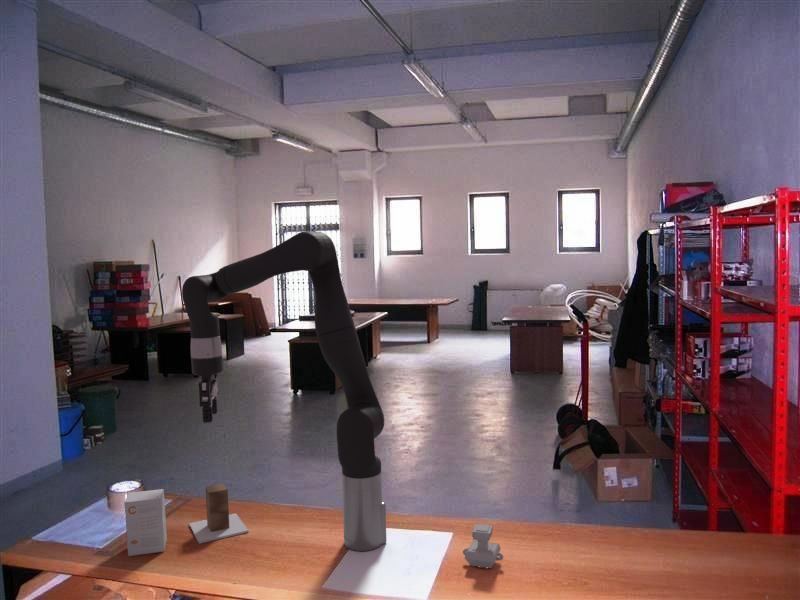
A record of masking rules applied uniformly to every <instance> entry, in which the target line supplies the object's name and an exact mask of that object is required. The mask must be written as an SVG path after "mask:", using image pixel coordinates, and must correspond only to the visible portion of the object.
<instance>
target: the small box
mask: <svg viewBox="0 0 800 600" xmlns="http://www.w3.org/2000/svg"><path fill="white" fill-rule="evenodd" d="M165 504H166V503H165V490H164V488H159V489H151V490H143V491H133V492H128V494H127V496H126V498H125V501H124V516H125V528H126V529H125V530H126V533H125V534H126V543H127V544H126V545H127V556H128V557H131V556H132V557H133V556H140V555H141V556H142V555H148V554H154V553H163V552H165V549H166V546H167V545H166V544H167V540H168V539H167V522H166V521H167V520H166V519H167V518H166V505H165Z"/></svg>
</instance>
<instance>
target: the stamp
mask: <svg viewBox="0 0 800 600" xmlns="http://www.w3.org/2000/svg"><path fill="white" fill-rule="evenodd" d="M493 526H494V525H492V524H482V523H479V524H478V523H475V524H474V526H473V529H472V532H471V533H472V534H471V537H472V539H473V540H472V541H471V543H470V545H469V547H468V548H467V547H466V548H464V549H463V550H462V554H463V556H464V560H465V561H466V562H467V563H468V564H469V565H470V566H471V565H472V566H471V567H475V566H480V567H479V568H482V567H488V568H491V569H492V567H493V566H494V565H495V563H496V562H497V561H502V560H504V555H503V554H502V553H501V552H500V551H501V546H500V543H496V542H489V541H490V539H491V537H492V535H493V531H494V527H493ZM488 568H487V569H488Z"/></svg>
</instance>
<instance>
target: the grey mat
mask: <svg viewBox="0 0 800 600" xmlns="http://www.w3.org/2000/svg"><path fill="white" fill-rule="evenodd" d="M188 526H189V528H190V527H191V528H190V529H192V530H191V531H193V532H192V534H193V535H194V537H195V539H196V541H197V542H198V544H199V545H200V544H204V543H207V542H208V543H209V542H212V541H216V540H220V539H225V538H226V539H227V538H230V537H234V536H237V535H242V534H246V533H249V529H248V527H247V526H246V525H245V523H244V522H243V520H241V518H240V517H239V516H238V514H237V513H236V512H235V513H232V514H231V513H229V528H227V529H223V530H218V531H214V532H211V531H210V529H209V527H208V525H207V519H203V520H198V521H193V522H189V523H188Z"/></svg>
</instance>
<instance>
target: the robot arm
mask: <svg viewBox="0 0 800 600" xmlns="http://www.w3.org/2000/svg"><path fill="white" fill-rule="evenodd" d="M301 271H306V272H308V274H309V277H310V279H311V280H310V281H311V282H312V286H313V290H314V297H315V307H314V329H315V334H316V338H317V341H318V345H319V348H320V352H321V353H322V357H323V358H324V360H325V363H326V364H327V365H328V367H329V368H330V369H331V370H332V372H333V374H334V375H335V376H336V378H337V379H338V380H339V382H340V385H341V386H342V389H343V391H344V395H345V400H346V404H347V409H345V410H344V411H342V412H341V414H339V416H338V419H337V422H336V444H337V457H338V462H339V464H340V466H341V476H342V477H341V478H342V479H341V480H342V506H343V507H342V509H343V511H342V513H343V519H342V520H343V542H344V546H345V548H347V549H349V550H352V551H357V552H359V551H360V552H365V551H372V550H375V549H377V548H380V547H381V546H382V545H383V544H386V543H387V512H386V511H387V509H386V503H385V502H384V501H383V490H382V487H383V485H382V484H383V483H382V461H381V458H379V457H378V456H376V451H375V449H376V448H375V439H376V438H378V436H380V435H381V433H382V432H383V430H384V427H385V415H384V411H383V409H382V406H381V404H380V402H379V399H378V397H377V394H376V391H375V389H374V387H373V384H372V382H371V379H370V376H369V372H368V369H367V364H366V361H365V358H364V357H365V356H364V355H363V351H362V348H361V347H362V346H361V344H360V339H359V336H358V332H357V329H356V325H355V322H354V319H353V316H352V312H351V309H350V305H349V302H348V298H347V296H346V292H345V290H344V286H343V282H342V281H343V280H342V277H341V272H340V266H339V259H338V255H337V249H336V245H335V243H334V241H333V240H332V238H331V237H330V236H328V234H326V233H324V232H321V231H311V230H309V231H308V230H306V231H305V230H304V231H301V232H298V233H297V234H294V235H293V236H292V237H290V238H287V239H286V240H284V241H283V242H281V243H280V244H277V245H275V246H274V247H272V248H270V249H268V250H266V251H264V252H261V253H259V254H256V255H253V256H249V257H247V258H244V259H240V260H239V261H236V262H233V263H230V264H228V265H225V266H223V267H221V268H219V269H218V270H217V271H216V272H213V273H209V274H204V275H201V274H200V275H194V276H192V275H191V276H189V277H188V278H186V279H185V281H184V282H183V283H182V284H183V285H182V289H181V296H182V301H183V305H184V308H185V311H186V313H187V317H188V320H189V325H190V326H189V327H190V328H189V330H190V360H191V373H192V375H194V376H201V380H200V381H199V382H198V384H197V385H198V391H199V393H198V394H199V407H200V408H201V409H202V411H201V412H202V422H203V423H204V424H206V423H212V422H213V420H214V419H213V415H216V414H218V400H217V399H218V395H219V387H218V383H219V382H218V374H221V373H222V372H224V364H223V363H224V362H223V347H222V340H221V333H220V331H221V330H220V329H221V328H220V320H219V319H220V318H219V316H218V314H217V313H215V312H211V310H210V305H209V303H213V302H217V301H220V300H222V299H225V298H226V297H229V296H230V295H233V294H236V293H239V292H242V291H245V290H248V289H250V288H253V287H255V286H258V285H260V284H262V283H264V282H265V281H267V280H269V279H271V278H273V277H276V276H278V275H283V274H287V273H293V272H301ZM206 400H207V401H206Z"/></svg>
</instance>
